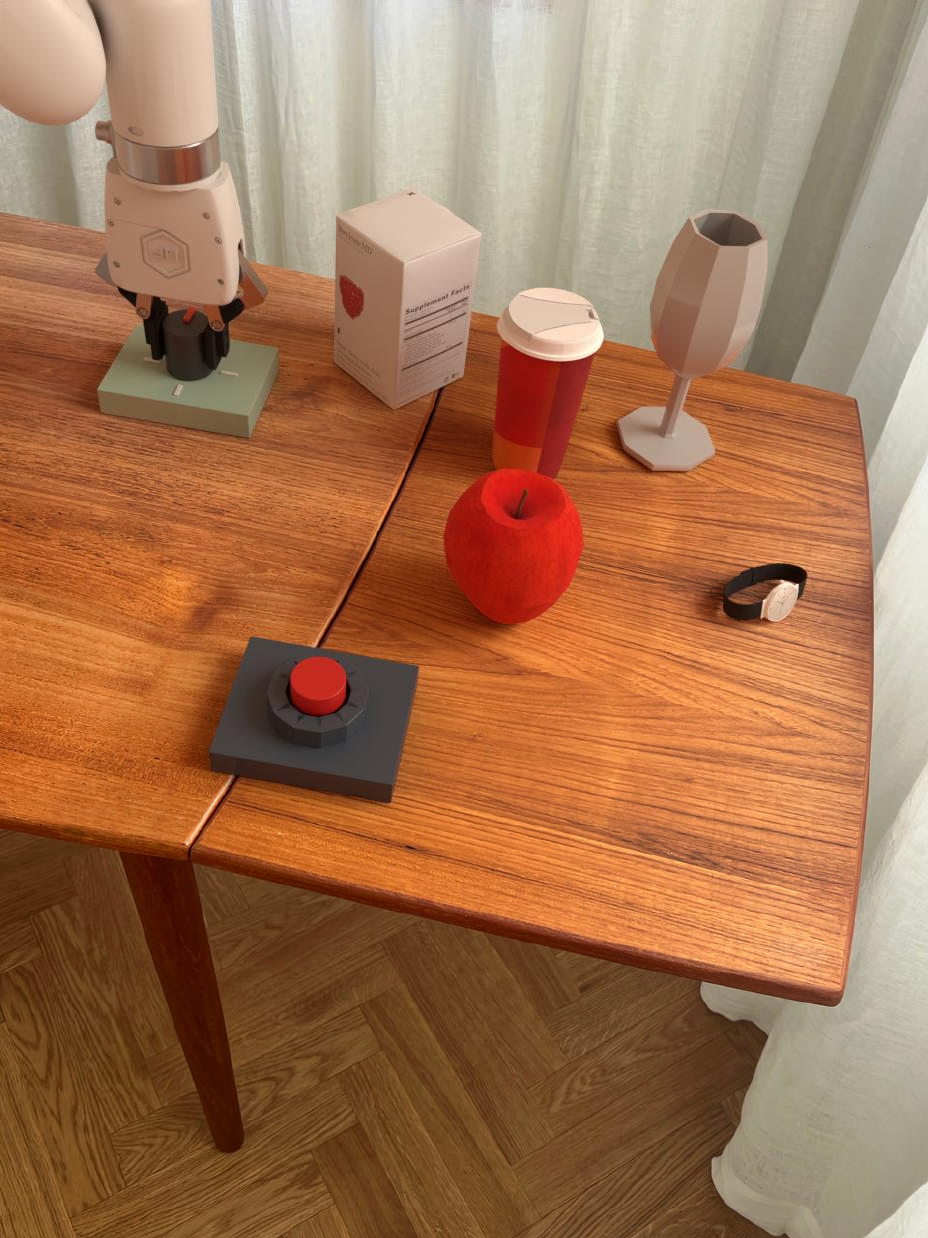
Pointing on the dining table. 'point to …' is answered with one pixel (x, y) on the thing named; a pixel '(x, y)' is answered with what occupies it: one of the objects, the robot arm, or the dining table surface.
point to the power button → (318, 686)
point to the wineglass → (698, 329)
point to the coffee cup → (542, 377)
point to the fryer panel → (190, 388)
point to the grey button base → (316, 723)
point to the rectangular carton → (403, 295)
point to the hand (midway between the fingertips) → (189, 353)
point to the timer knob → (185, 344)
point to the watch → (777, 599)
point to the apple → (513, 544)
